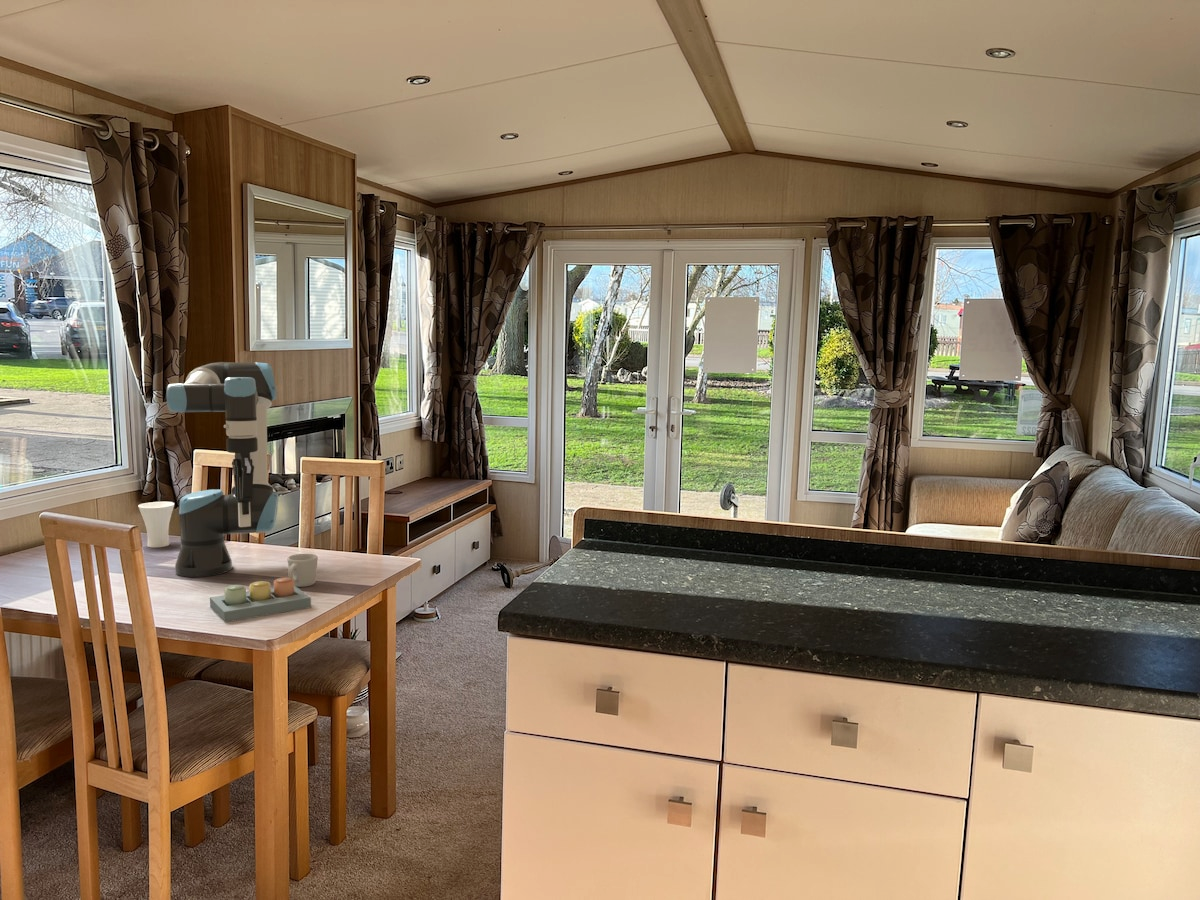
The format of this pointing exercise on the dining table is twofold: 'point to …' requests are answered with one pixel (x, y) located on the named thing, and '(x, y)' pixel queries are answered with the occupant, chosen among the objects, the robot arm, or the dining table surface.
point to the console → (259, 606)
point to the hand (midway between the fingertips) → (244, 526)
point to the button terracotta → (283, 587)
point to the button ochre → (260, 591)
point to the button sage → (235, 595)
